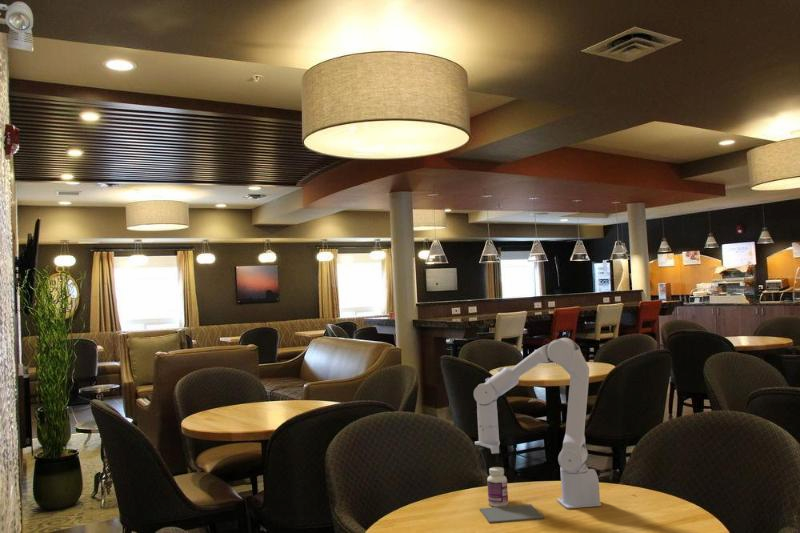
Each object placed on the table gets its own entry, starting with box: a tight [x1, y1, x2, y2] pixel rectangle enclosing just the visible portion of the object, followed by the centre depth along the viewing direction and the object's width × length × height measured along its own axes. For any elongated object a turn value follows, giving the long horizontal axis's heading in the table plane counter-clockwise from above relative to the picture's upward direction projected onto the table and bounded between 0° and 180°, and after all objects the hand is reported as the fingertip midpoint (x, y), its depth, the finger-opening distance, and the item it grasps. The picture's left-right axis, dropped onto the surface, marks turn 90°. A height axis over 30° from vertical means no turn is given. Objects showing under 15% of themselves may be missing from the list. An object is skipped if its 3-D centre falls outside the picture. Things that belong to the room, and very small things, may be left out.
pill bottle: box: [486, 466, 509, 508], centre depth 182 cm, size 5×5×10 cm
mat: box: [479, 504, 545, 524], centre depth 172 cm, size 14×11×1 cm
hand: (490, 474), depth 189 cm, fingers closed
